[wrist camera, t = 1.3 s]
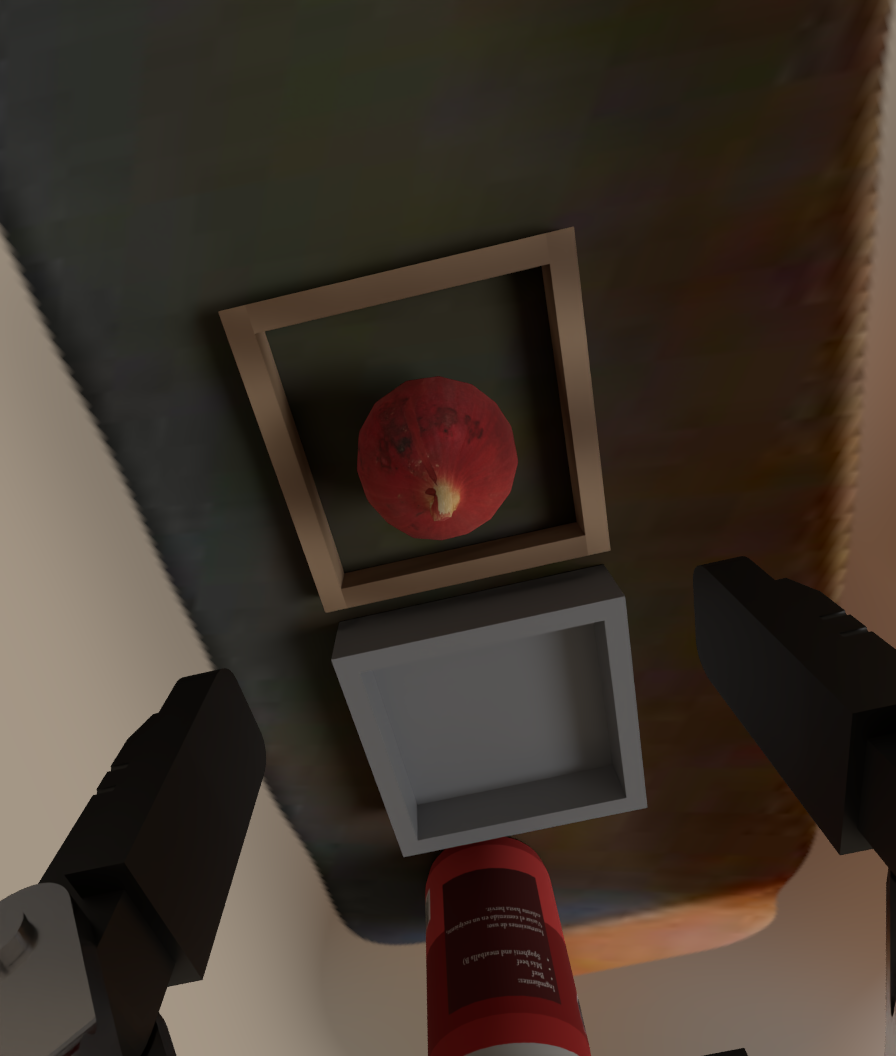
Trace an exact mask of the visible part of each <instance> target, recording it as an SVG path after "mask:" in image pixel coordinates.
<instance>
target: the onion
mask: <svg viewBox="0 0 896 1056" xmlns="http://www.w3.org/2000/svg"><path fill="white" fill-rule="evenodd" d="M517 464H518V458H517V453H516V448H515V443H514V437H513V432H512V428H511V426H510V424H509V423H508V421H507V419H506V418H505V416H504V415H503V413H502V412H501V410H500V409H499V407H498V406H497V404H496V403H495V402H494V401H493V400H492V399H490V398H489V397H488V396H486V395H485V394H484V393H482V392H481V391H480V390H478V389H477V388H476V387H475V386H473V385H472V384H468V383H464V382H460V381H456V380H452V379H448V378H444V377H440V376H437V377H430V378H423V379H416V380H409V381H406V382H404V383H403V384H401V385H400V386H398V387H397V388H396V389H394V390H393V391H391V392H390V393H388V394H387V395H386V396H384V397H383V398H381V399H380V400H378V401H377V402H376V403H375V404H374V406H373V408H372V409H371V411H370V413H369V415H368V417H367V419H366V420H365V422H364V424H363V426H362V428H361V429H360V431H359V440H358V459H357V472H358V475H359V478H360V480H361V483H362V486H363V489H364V492H365V495H366V498H367V500H368V501H369V503H370V504H371V505H372V506H373V507H374V508H375V509H376V510H377V512H378V513H379V514H380V515H381V516H382V517H383V518H384V519H385V520H386V521H387V522H388V523H389V524H390V525H392V526H394V527H395V528H397V529H399V530H401V531H402V532H404V533H406V534H408V535H409V536H411V537H413V538H421V539H433V540H445V539H449V538H453V537H457V536H460V535H464V534H468V533H470V532H471V531H473V530H474V529H476V528H477V527H479V526H480V525H482V524H483V523H485V522H487V521H488V520H490V519H491V518H492V516H493V515H494V514H495V512H496V511H497V510H498V508H499V507H500V506H501V504H502V503H503V502H504V500H505V499H506V497H507V496H508V495H509V493H510V492H511V488H512V484H513V480H514V476H515V472H516V468H517Z"/></svg>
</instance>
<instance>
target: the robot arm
mask: <svg viewBox="0 0 896 1056" xmlns="http://www.w3.org/2000/svg"><path fill="white" fill-rule="evenodd" d="M693 588H694V607H695V627H696V644H697V650H698V654H699V658H700V661H701V664H702V666H703V668H704V671H705V673H706V675H707V676H708V678H709V680H710V681H711V682H712V684H713V685H714V686H715V688H716V689H717V690H718V692H719V693H720V695H721V696H722V697H723V699H724V700H725V701H726V703H727V704H728V705H729V707H730V708H731V709H732V711H733V712H734V713H735V715H736V716H737V717H738V719H739V720H740V721H741V723H742V724H743V725H744V727H745V728H746V730H747V731H748V732H749V734H750V735H751V736H752V738H753V739H754V740H755V742H756V743H757V744H758V746H759V747H760V748H761V750H762V751H763V752H764V754H765V755H766V756H767V758H768V759H769V761H770V762H771V763H772V765H773V766H774V767H775V769H776V770H777V771H778V773H779V774H780V775H781V777H782V778H783V779H784V781H785V782H786V783H787V785H788V786H789V787H790V789H791V790H792V791H793V793H794V794H795V796H796V797H797V798H798V800H799V801H800V802H801V804H802V805H803V806H804V808H805V809H806V810H807V812H808V813H809V814H810V816H811V817H812V818H813V820H814V821H815V822H816V824H817V825H818V827H819V828H820V829H821V830H822V832H823V833H824V834H825V836H826V837H827V839H828V840H829V841H830V843H831V844H832V845H833V846H834V848H835V849H836V851H837V852H838V853H839V855H844V854H849V853H854V852H859V851H864V850H869V849H874V850H875V851H876V853H877V854H878V855H879V856H880V857H881V859H882V860H883V861H884V862H885V864H886V865H887V866H888V875H887V882H886V1036H885V1038H886V1039H885V1056H896V649H894V648H893V647H892V646H891V645H889V644H888V643H887V642H885V641H884V640H883V639H882V638H880V637H879V636H878V635H876V634H875V633H874V632H868V631H867V627H866V626H865V625H863V624H862V623H861V622H859V621H858V620H857V619H855V618H854V617H853V616H851V615H846V613H845V610H844V609H842V608H841V607H840V606H838V605H837V604H836V603H835V602H833V601H832V600H831V599H829V598H828V597H827V596H825V595H824V594H823V593H821V592H820V591H818V590H815V589H813V588H810V587H808V586H805V585H802V584H800V583H797V582H795V581H792V580H790V579H787V578H784V579H779V580H774V579H773V578H772V577H771V576H769V575H768V574H767V573H766V572H765V571H763V570H762V569H761V568H760V567H759V566H757V565H756V564H755V563H754V562H752V561H751V560H750V559H749V558H747V557H745V556H741V557H736V558H731V559H727V560H722V561H718V562H713V563H709V564H704V565H699V566H697V567H696V568H695V570H694V574H693ZM265 766H266V751H265V744H264V740H263V737H262V734H261V732H260V730H259V727H258V725H257V723H256V721H255V719H254V716H253V714H252V712H251V710H250V708H249V706H248V703H247V701H246V699H245V697H244V695H243V693H242V690H241V688H240V686H239V684H238V682H237V680H236V678H235V676H234V674H233V673H232V672H231V671H230V670H228V669H226V668H224V669H219V670H214V671H210V672H206V673H201V674H197V675H192V676H187V677H183V678H181V679H179V680H178V681H177V683H176V684H175V686H174V687H173V689H172V691H171V693H170V694H169V696H168V698H167V699H166V701H165V703H164V705H163V706H162V708H161V710H160V711H159V713H156V714H153V715H152V716H151V717H150V718H149V719H148V720H147V721H146V722H145V723H144V724H143V725H142V726H141V727H140V728H139V729H138V730H137V731H135V733H133V734H132V735H131V736H130V737H129V738H128V739H127V741H126V743H125V744H124V746H123V747H122V749H121V750H120V752H119V754H118V756H117V757H116V759H115V760H114V762H113V763H112V765H111V771H109V772H107V773H106V775H105V777H104V778H103V780H102V781H101V783H100V785H99V786H98V788H97V795H93V796H92V797H91V799H90V801H89V802H88V804H87V806H86V807H85V809H84V811H83V812H82V814H81V815H80V817H79V818H78V820H77V822H76V823H75V825H74V827H73V828H72V830H71V831H70V833H69V835H68V836H67V838H66V840H65V841H64V843H63V844H62V846H61V848H60V849H59V851H58V852H57V854H56V856H55V857H54V859H53V861H52V862H51V864H50V865H49V867H48V869H47V870H46V872H45V874H44V875H43V877H42V878H41V880H40V882H39V883H38V884H36V885H33V886H30V887H27V888H24V889H22V890H20V891H18V892H16V893H14V894H11V895H10V896H8V897H6V898H5V899H3V900H1V901H0V1056H176V1053H175V1050H174V1047H173V1043H172V1041H171V1037H170V1034H169V1031H168V1028H167V1025H166V1023H165V1021H164V1019H163V1018H162V1016H161V1015H160V1014H159V1009H160V1007H161V1004H162V1001H163V998H164V995H165V992H166V989H167V987H169V986H174V985H179V984H184V983H189V982H194V981H199V980H203V976H204V973H205V970H206V966H207V963H208V960H209V956H210V953H211V950H212V946H213V943H214V940H215V936H216V932H217V929H218V926H219V923H220V919H221V916H222V913H223V909H224V906H225V903H226V899H227V896H228V893H229V889H230V886H231V883H232V879H233V876H234V873H235V869H236V866H237V863H238V859H239V856H240V852H241V849H242V846H243V843H244V839H245V836H246V833H247V829H248V826H249V822H250V819H251V816H252V812H253V809H254V805H255V802H256V799H257V796H258V792H259V789H260V786H261V782H262V779H263V776H264V772H265ZM704 1056H748V1055H747V1053H746V1051H745V1049H744V1048H741V1049H736V1050H731V1051H725V1052H720V1053H715V1054H709V1055H704Z"/></svg>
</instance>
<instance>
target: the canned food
mask: <svg viewBox="0 0 896 1056" xmlns="http://www.w3.org/2000/svg"><path fill="white" fill-rule="evenodd" d="M425 909H426V964H427V965H426V967H427V1020H428V1022H427V1023H428V1024H427V1025H428V1056H591V1054H590V1047H589V1043H588V1039H587V1034H586V1030H585V1026H584V1022H583V1017H582V1013H581V1009H580V1005H579V1001H578V997H577V992H576V987H575V983H574V979H573V975H572V970H571V966H570V962H569V958H568V953H567V949H566V945H565V941H564V936H563V932H562V928H561V924H560V919H559V915H558V911H557V907H556V902H555V898H554V894H553V890H552V885H551V881H550V877H549V875H548V872H547V870H546V868H545V866H544V864H543V863H542V861H541V859H540V858H539V856H538V855H537V854H536V852H535V851H534V850H533V849H531V848H530V847H529V846H528V845H526V844H524V843H522V842H520V841H518V840H515V839H512V838H509V837H500V838H496V839H491V840H486V841H481V842H476V843H471V844H466V845H461V846H456V847H451V848H447V849H445V850H444V851H443V852H442V853H441V854H440V855H439V856H438V857H437V858H436V859H435V861H434V862H433V864H432V866H431V869H430V872H429V875H428V879H427V882H426V889H425Z"/></svg>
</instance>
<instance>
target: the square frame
mask: <svg viewBox="0 0 896 1056" xmlns="http://www.w3.org/2000/svg"><path fill="white" fill-rule="evenodd" d="M538 266H542V274H543V281H544V288H545V296H546V303H547V310H548V317H549V325H550V332H551V339H552V347H553V354H554V361H555V369H556V376H557V383H558V390H559V398H560V405H561V412H562V420H563V427H564V434H565V442H566V449H567V456H568V463H569V471H570V478H571V485H572V493H573V500H574V507H575V515H576V522H574V523H569V524H565V525H560V526H556V527H551V528H547V529H542V530H538V531H533V532H529V533H524V534H520V535H515V536H511V537H506V538H502V539H497V540H493V541H488V542H484V543H479V544H475V545H470V546H466V547H461V548H456V549H452V550H447V551H443V552H438V553H434V554H429V555H425V556H420V557H416V558H411V559H407V560H402V561H398V562H393V563H389V564H384V565H380V566H375V567H371V568H366V569H362V570H357V571H353V572H348V573H344V570H343V567H342V564H341V561H340V558H339V555H338V552H337V549H336V546H335V543H334V540H333V537H332V534H331V531H330V528H329V525H328V522H327V519H326V516H325V513H324V510H323V507H322V504H321V501H320V498H319V495H318V492H317V489H316V486H315V482H314V479H313V476H312V473H311V470H310V467H309V464H308V461H307V458H306V455H305V452H304V449H303V446H302V443H301V440H300V437H299V434H298V431H297V428H296V425H295V422H294V419H293V416H292V413H291V410H290V407H289V404H288V401H287V398H286V395H285V392H284V389H283V386H282V383H281V380H280V377H279V374H278V371H277V368H276V365H275V361H274V358H273V355H272V352H271V349H270V346H269V343H268V340H267V337H266V334H265V331H268V330H272V329H277V328H281V327H285V326H289V325H294V324H298V323H302V322H306V321H310V320H315V319H319V318H323V317H327V316H331V315H336V314H340V313H344V312H348V311H353V310H357V309H361V308H365V307H369V306H374V305H378V304H382V303H386V302H391V301H395V300H399V299H403V298H407V297H412V296H416V295H420V294H424V293H429V292H433V291H437V290H441V289H445V288H450V287H454V286H458V285H462V284H467V283H471V282H475V281H479V280H483V279H488V278H492V277H496V276H500V275H504V274H509V273H513V272H517V271H521V270H526V269H530V268H534V267H538ZM218 313H219V316H220V318H221V321H222V324H223V327H224V330H225V332H226V335H227V338H228V341H229V344H230V346H231V349H232V352H233V355H234V358H235V360H236V363H237V366H238V369H239V372H240V374H241V377H242V380H243V383H244V386H245V388H246V391H247V394H248V397H249V400H250V402H251V405H252V408H253V411H254V414H255V416H256V419H257V422H258V425H259V428H260V430H261V433H262V436H263V439H264V442H265V444H266V447H267V450H268V453H269V456H270V458H271V461H272V464H273V467H274V470H275V472H276V475H277V478H278V481H279V484H280V486H281V489H282V492H283V495H284V498H285V500H286V503H287V506H288V509H289V512H290V514H291V517H292V520H293V523H294V526H295V528H296V531H297V534H298V537H299V540H300V542H301V545H302V548H303V551H304V554H305V556H306V559H307V562H308V565H309V568H310V570H311V573H312V576H313V579H314V582H315V584H316V587H317V590H318V593H319V596H320V598H321V601H322V604H323V607H324V610H325V612H326V613H327V612H332V611H336V610H341V609H346V608H350V607H355V606H359V605H364V604H368V603H373V602H377V601H382V600H387V599H391V598H396V597H400V596H405V595H409V594H414V593H419V592H423V591H428V590H432V589H437V588H441V587H446V586H450V585H455V584H460V583H464V582H469V581H473V580H478V579H482V578H487V577H491V576H496V575H501V574H505V573H510V572H514V571H519V570H523V569H528V568H532V567H537V566H542V565H546V564H551V563H555V562H560V561H564V560H569V559H573V558H578V557H583V556H587V555H592V554H596V553H601V552H605V551H610V542H609V533H608V525H607V516H606V507H605V498H604V489H603V480H602V472H601V463H600V454H599V445H598V436H597V427H596V419H595V410H594V401H593V392H592V383H591V374H590V366H589V357H588V348H587V339H586V330H585V321H584V313H583V304H582V295H581V286H580V277H579V268H578V260H577V251H576V242H575V233H574V227H570V228H566V229H561V230H557V231H553V232H549V233H545V234H540V235H536V236H532V237H528V238H524V239H520V240H515V241H511V242H507V243H503V244H499V245H494V246H490V247H486V248H482V249H478V250H473V251H469V252H465V253H461V254H457V255H453V256H448V257H444V258H440V259H436V260H432V261H427V262H423V263H419V264H415V265H411V266H406V267H402V268H398V269H394V270H390V271H386V272H381V273H377V274H373V275H369V276H365V277H360V278H356V279H352V280H348V281H344V282H339V283H335V284H331V285H327V286H323V287H319V288H314V289H310V290H306V291H302V292H298V293H293V294H289V295H285V296H281V297H277V298H272V299H268V300H264V301H260V302H256V303H252V304H247V305H243V306H239V307H235V308H231V309H226V310H222V311H218Z"/></svg>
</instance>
